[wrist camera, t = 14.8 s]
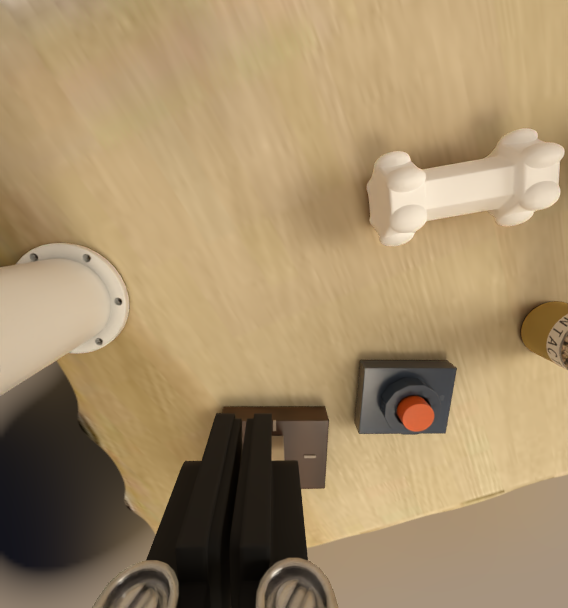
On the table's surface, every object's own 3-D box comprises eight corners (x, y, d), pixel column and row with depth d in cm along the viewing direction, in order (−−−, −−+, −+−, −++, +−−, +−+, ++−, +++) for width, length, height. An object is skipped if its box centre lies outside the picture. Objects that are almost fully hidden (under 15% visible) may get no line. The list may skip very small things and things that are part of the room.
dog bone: (502, 138, 32) (576, 111, 24) (501, 222, 35) (568, 223, 27) (360, 163, 33) (388, 145, 25) (368, 245, 35) (396, 252, 27)
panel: (226, 471, 42) (222, 491, 39) (223, 405, 39) (219, 421, 36) (321, 471, 42) (325, 490, 39) (325, 405, 40) (329, 420, 37)
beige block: (265, 435, 37) (263, 469, 32) (283, 435, 37) (284, 469, 32) (265, 476, 39) (264, 515, 34) (283, 476, 39) (284, 514, 34)
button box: (354, 422, 41) (362, 444, 37) (359, 359, 38) (369, 375, 34) (436, 422, 41) (453, 443, 37) (447, 360, 39) (466, 375, 35)
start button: (394, 422, 37) (400, 432, 35) (398, 395, 36) (404, 403, 34) (424, 422, 37) (432, 431, 35) (429, 395, 36) (436, 403, 34)
